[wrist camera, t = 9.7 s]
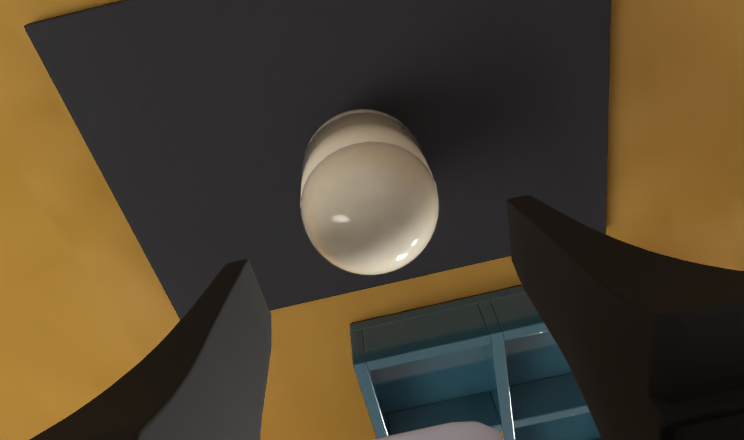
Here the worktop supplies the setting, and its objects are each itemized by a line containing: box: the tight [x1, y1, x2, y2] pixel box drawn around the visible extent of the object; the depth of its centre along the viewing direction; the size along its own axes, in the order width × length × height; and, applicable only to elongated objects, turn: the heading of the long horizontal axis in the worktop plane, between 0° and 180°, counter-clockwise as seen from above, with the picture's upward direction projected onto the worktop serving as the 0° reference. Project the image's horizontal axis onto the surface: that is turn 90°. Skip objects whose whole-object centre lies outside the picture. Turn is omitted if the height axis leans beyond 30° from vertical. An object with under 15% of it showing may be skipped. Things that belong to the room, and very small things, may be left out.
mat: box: [24, 0, 611, 320], centre depth 21 cm, size 20×14×1 cm
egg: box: [300, 109, 439, 275], centre depth 18 cm, size 4×4×7 cm
